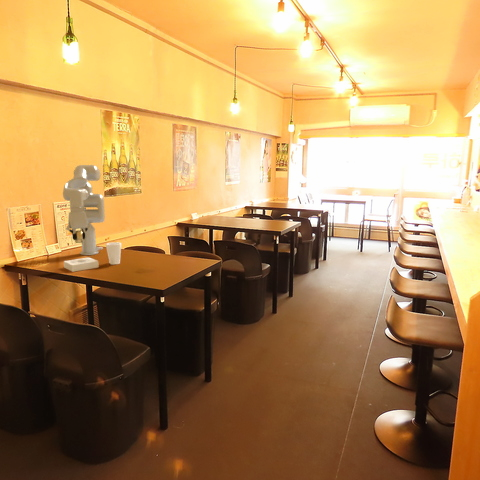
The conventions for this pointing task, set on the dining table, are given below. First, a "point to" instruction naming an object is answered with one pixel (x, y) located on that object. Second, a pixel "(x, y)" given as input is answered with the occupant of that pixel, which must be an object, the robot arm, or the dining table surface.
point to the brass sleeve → (79, 236)
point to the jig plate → (81, 264)
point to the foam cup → (114, 252)
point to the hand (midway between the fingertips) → (79, 239)
